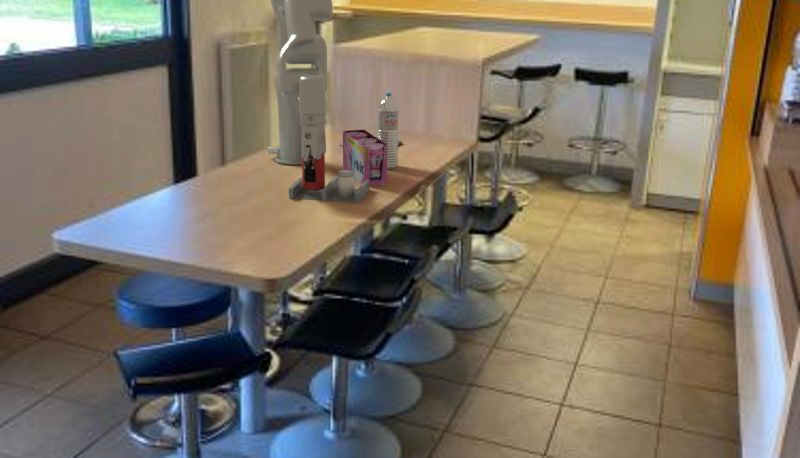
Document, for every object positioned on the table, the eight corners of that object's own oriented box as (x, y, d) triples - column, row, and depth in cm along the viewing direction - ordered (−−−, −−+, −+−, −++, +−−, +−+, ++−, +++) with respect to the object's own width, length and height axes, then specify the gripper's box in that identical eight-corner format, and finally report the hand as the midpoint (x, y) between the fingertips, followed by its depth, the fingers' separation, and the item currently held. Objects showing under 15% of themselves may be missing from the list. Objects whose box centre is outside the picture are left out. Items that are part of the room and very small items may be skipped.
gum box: (389, 188, 250) (389, 145, 245) (364, 190, 247) (365, 147, 243) (364, 168, 271) (364, 129, 266) (342, 170, 268) (341, 130, 264)
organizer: (289, 201, 235) (288, 188, 234) (302, 188, 248) (302, 175, 247) (358, 206, 232) (359, 193, 230) (369, 192, 245) (369, 180, 243)
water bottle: (398, 164, 276) (399, 91, 268) (396, 169, 270) (397, 95, 262) (378, 163, 277) (379, 90, 269) (376, 169, 271) (376, 94, 262)
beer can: (327, 186, 242) (327, 147, 238) (321, 192, 236) (320, 152, 232) (306, 184, 244) (305, 145, 240) (299, 190, 238) (298, 150, 233)
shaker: (335, 196, 237) (335, 173, 234) (339, 192, 241) (339, 169, 239) (352, 198, 236) (352, 174, 234) (356, 193, 241) (356, 170, 238)
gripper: (317, 125, 224) (318, 187, 230) (332, 113, 240) (333, 171, 246) (291, 124, 225) (292, 185, 231) (308, 112, 242) (309, 169, 248)
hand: (313, 177), depth 239 cm, fingers closed on beer can, 6 cm apart
